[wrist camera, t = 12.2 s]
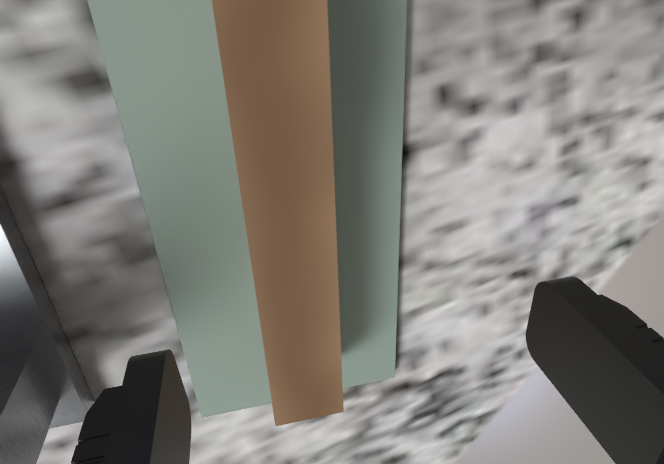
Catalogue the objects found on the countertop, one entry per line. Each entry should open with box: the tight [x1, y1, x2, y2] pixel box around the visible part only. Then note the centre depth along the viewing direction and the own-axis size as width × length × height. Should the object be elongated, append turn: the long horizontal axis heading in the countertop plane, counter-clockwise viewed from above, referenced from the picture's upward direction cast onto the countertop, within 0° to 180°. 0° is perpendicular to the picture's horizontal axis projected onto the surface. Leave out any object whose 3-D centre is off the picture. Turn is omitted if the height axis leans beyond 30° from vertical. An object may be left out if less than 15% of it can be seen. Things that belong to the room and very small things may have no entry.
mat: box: [87, 0, 407, 418], centre depth 18 cm, size 10×24×1 cm, turn 3°
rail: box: [212, 0, 343, 426], centre depth 16 cm, size 3×20×3 cm, turn 2°
